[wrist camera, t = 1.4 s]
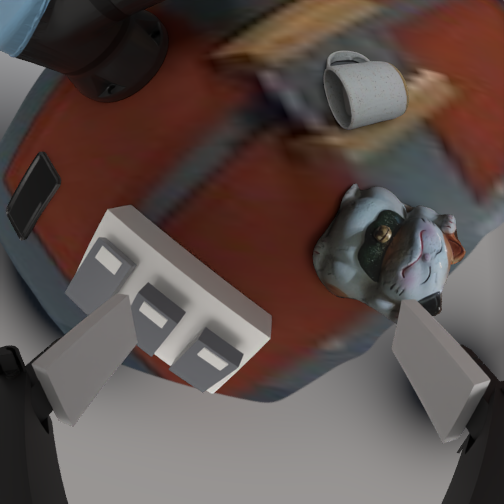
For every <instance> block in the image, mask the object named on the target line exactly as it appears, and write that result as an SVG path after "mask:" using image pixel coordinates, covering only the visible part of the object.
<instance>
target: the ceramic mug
mask: <svg viewBox="0 0 504 504" xmlns="http://www.w3.org/2000/svg"><path fill="white" fill-rule="evenodd" d="M342 60H353V61H356V62H359V63H354V64H344V65H336V66H331V63H333V62H335V61H342ZM323 80H324V88H325V93H326V97H327V100H328V103H329V106H330V108H331V111H332V113H333V115H334V117H335V119H336V120H337V122H338V123H339V124H340V126H341V127H342V128H344V129H347V130H350V129H354V128H358V127H362V126H366V125H370V124H374V123H377V122H381V121H386V120H390V119H394V118H396V117H399V116H401V115H402V114H404V113H405V111H406V109H407V107H408V103H409V94H408V88H407V85H406V82H405V80H404V78H403V76H402V74H401V73H400V72H399V70H398V69H397V68H396V67H395V66H393V65H392V64H390V63H387V62H379V61H372V62H371V61H369V59H368V58H366V57H365V56H363V55H362V54H359V53H356V52H353V51H338V52H334V53H332V54H331V55H330V56H329V57H328V59H327V66H326V69H325V71H324V78H323Z"/></svg>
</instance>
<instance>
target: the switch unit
mask: <svg viewBox="0 0 504 504" xmlns="http://www.w3.org/2000/svg"><path fill="white" fill-rule="evenodd" d="M99 237H105V238H107V239H108V240H109V241H110V242H111V243H112V244H114V245H115V246H116V247H117V248H118V249H119V250H120V251H121V252H123V253H124V254H125V255H126V256H127V257H128V258H130V259H131V260H132V261H133V262H134V263H135V264H137V266H136V267H135V269H134V270H133V271H132V273H131V274H130V276H129V277H128V279H127V280H126V282H125V283H124V284H123V286H122V287H121V289H120V290H119V292H118V293H117V294H125V295H129V299H130V305H132V303H133V301H134V299H135V297H136V295H137V293H138V292H139V291H140V290H141V289H142V288H143V287H144V286H145V285H146V284H147V283H148V282H149V283H150V284H151V285H153V286H154V287H155V288H156V289H157V290H159V291H160V292H161V293H162V294H164V295H165V296H166V297H167V298H169V299H170V300H171V301H172V302H174V303H175V304H176V305H178V306H179V307H180V308H181V309H183V310H184V311H185V312H186V313H185V315H184V316H183V317H182V319H181V320H180V322H179V323H178V324H177V326H176V327H175V328H174V329H173V331H172V332H171V333H170V334H169V336H168V337H167V338H166V339H165V341H164V342H163V343H162V344H161V346H160V347H159V348H158V349H157V351H156V352H155V353H154V354H155V355H156V356H158V357H159V358H160V359H162V360H163V361H164V362H166V363H167V364H169V365H170V366H171V365H172V363H173V362H174V360H175V358H176V357H177V356H178V355H179V354H180V353H181V352H182V351H183V350H184V349H185V348H186V347H187V346H188V345H189V344H190V343H191V342H192V341H193V340H194V338H195V337H196V336H197V335H198V334H199V333H200V332H201V331H202V330H203V329H204V328H205V327H206V328H208V329H209V330H211V331H212V332H213V333H215V334H216V335H217V336H219V337H220V338H222V339H223V340H224V341H226V342H227V343H229V344H230V345H232V346H233V347H234V348H236V349H237V350H239V351H240V352H242V353H243V354H244V355H243V357H242V360H241V362H240V365H239V367H238V368H237V369H236V370H234V371H233V372H232V373H230V374H229V375H227V376H226V377H225V378H223V379H222V380H220V381H219V382H217V383H216V384H215V385H213V386H212V387H210V388H209V389H207V391H208V392H210V393H211V394H213V393H214V392H215V391H216V390H218V389H219V388H220V387H221V386H222V385H223V384H224V383H225V382H226V381H227V380H228V379H229V378H231V377H232V376H233V375H234V374H235V373H236V372H237V371H238V370H239V369H240V368H241V367H242V366H243V365H244V364H245V363H246V362H247V361H248V360H249V359H250V358H251V357H253V356H254V355H255V354H256V353H257V352H258V351H259V350H260V349H261V348H262V347H263V346H264V345H265V344H266V343H267V342H268V341H269V340H270V339H271V323H272V316H271V315H270V314H269V313H267V312H266V311H265V310H263V309H262V308H261V307H259V306H258V305H257V304H255V303H254V302H253V301H251V300H250V299H249V298H247V297H246V296H245V295H243V294H242V293H241V292H239V291H238V290H237V289H235V288H234V287H233V286H232V285H230V284H229V283H228V282H226V281H225V280H224V279H222V278H221V277H220V276H219V275H217V274H216V273H215V272H213V271H212V270H211V269H210V268H208V267H207V266H206V265H205V264H203V263H202V262H201V261H199V260H198V259H197V258H196V257H194V256H193V255H192V254H191V253H189V252H188V251H187V250H186V249H184V248H183V247H182V246H181V245H179V244H178V243H177V242H176V241H174V240H173V239H172V238H171V237H169V236H168V235H167V234H166V233H165V232H163V231H162V230H161V229H160V228H158V227H157V226H156V225H155V224H154V223H152V222H151V221H150V220H149V219H148V218H146V217H145V216H144V215H143V214H142V213H140V212H139V211H138V210H137V209H136V208H134V207H133V206H132V205H127V206H122V207H117V208H112V209H108V210H107V211H106V213H105V215H104V217H103V219H102V221H101V223H100V224H99V226H98V228H97V230H96V232H95V234H94V236H93V238H92V240H91V242H90V244H89V246H88V248H87V250H86V253H85V255H84V257H83V259H82V261H81V263H80V266H81V264H82V263H83V261H84V259H85V258H86V256H87V255H88V253H89V251H90V250H91V248H92V247H93V245H94V244H95V242H96V241H97V239H98V238H99ZM80 266H79V268H80ZM79 268H78V269H79ZM77 271H78V270H77ZM76 273H77V272H76Z"/></svg>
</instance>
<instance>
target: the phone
mask: <svg viewBox="0 0 504 504" xmlns="http://www.w3.org/2000/svg"><path fill="white" fill-rule="evenodd" d="M51 165H52V163H51V161H50V159H49V158H48V156H47V154H46V153H45V152H39V153H38V154H37V155H36V157H35V158H34V160H33V162H32V163H31V165H30V166H29V168H28V170H27V171H26V173H25V175H24V176H23V178H22V180H21V182H20V183H19V185H18V187H17V189H16V191H15V192H14V194H13V196H12V198H11V200H10V202H9V204H8V206H7V209H6V213H7V216H8V218H9V220H10V222H11V224H12V226H13V228H14V230H15V231H16V233H17V235H18V237H19V239H20V240H25V239H27V237H28V235H29V234H30V232H31V230H32V229H33V227H34V225H35V224H36V222H37V220H38V219H39V217H40V215H41V214H42V212H43V211H44V209H45V208H46V206H47V205H48V203H49V202H50V200H51V199H52V197H53V196H54V194H55V193H56V191H57V190H58V188H59V187H60V185H61V178H60V176H59V175H58V173H57V171H56V170H55V168H54V166H53V165H52V166H51Z"/></svg>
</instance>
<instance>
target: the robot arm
mask: <svg viewBox="0 0 504 504" xmlns="http://www.w3.org/2000/svg"><path fill="white" fill-rule="evenodd" d="M162 1H165V0H0V51H2V52H5V53H7V54H9V55H10V56H11V57H16V58H18V59H22V60H25V61H28V62H31V63H34V64H37V65H40V66H43V67H46V68H49V69H52V70H55V71H57V72H60V73H63V74H65V75H67V77H68V78H69V79H70V80H71V82H72V83H73V84H74V85H75V87H76V88H77V89H78V90H79V91H80V92H81V93H82V94H83V95H85V96H86V97H88V98H91V99H93V100H96V101H100V102H114V101H118V100H121V99H124V98H126V97H128V96H130V95H132V94H134V93H135V92H137V91H138V90H140V89H141V88H142V87H143V86H144V85H146V84H147V83H148V82H149V81H150V80H151V79H152V77H153V76H154V75H155V74H156V72H157V71H158V70H159V68H160V66H161V65H162V63H163V61H164V58H165V56H166V53H167V49H168V34H167V30H166V28H165V27H164V25H163V24H162V23H161V21H160V20H159V19H158V18H157V17H156V16H155V15H154V14H152V13H150V12H148V11H146V10H144V9H146V8H148V7H151V6H153V5H155V4H157V3H160V2H162ZM137 343H138V341H137V337H136V332H135V327H134V322H133V316H132V311H131V305H130V299H129V295H125V294H115V295H114V296H113V297H111V298H110V299H109V300H108V301H106V302H105V303H104V304H103V305H101V306H100V307H99V308H98V309H96V310H95V311H94V312H93V313H91V314H90V315H89V316H88V317H86V318H85V319H84V320H83V321H81V322H80V323H79V324H78V325H77V326H75V327H74V328H73V329H72V330H71V331H69V332H68V333H67V334H66V335H65V336H63V337H61V338H59V339H57V340H55V341H54V342H53V343H52V344H51V345H50V346H49V347H47V348H46V349H45V350H44V352H41V353H40V354H39V355H38V356H37V357H35V358H34V359H33V360H32V361H31V362H30V363H29V364H27V365H26V366H25V364H24V362H23V360H22V357H21V355H20V352H19V349H18V348H17V347H15V346H4V347H1V348H0V504H68V501H67V498H66V495H65V490H64V486H63V482H62V478H61V473H60V469H59V464H58V459H57V453H56V447H55V441H54V434H53V426H52V421H51V418H50V416H49V414H50V413H51V412H52V411H54V413H55V415H56V416H57V418H58V420H59V421H61V422H63V423H65V424H68V425H70V426H74V425H75V424H76V422H77V421H78V419H79V418H80V417H81V415H82V414H83V413H84V411H85V410H86V409H87V407H88V406H89V405H90V403H91V402H92V401H93V399H94V398H95V397H96V396H97V394H98V393H99V391H100V390H101V389H102V387H103V386H104V385H105V384H106V382H107V381H108V380H109V379H110V377H111V376H112V375H113V373H114V372H115V371H116V369H117V368H118V367H119V366H120V364H121V363H122V362H123V361H124V359H125V358H126V357H127V356H128V354H129V353H130V352H131V350H132V349H133V348H134V347H135V345H136V344H137ZM391 349H392V351H393V353H394V354H395V356H396V358H397V360H398V361H399V363H400V365H401V367H402V368H403V370H404V372H405V374H406V375H407V377H408V379H409V381H410V382H411V384H412V386H413V388H414V390H415V391H416V393H417V395H418V397H419V399H420V401H421V402H422V404H423V406H424V408H425V410H426V412H427V414H428V416H429V418H430V419H431V421H432V423H433V425H434V427H435V429H436V431H437V433H438V435H439V437H440V439H441V441H442V443H446V442H449V441H452V440H455V439H458V438H459V437H460V436H461V434H462V432H463V431H464V429H465V427H466V428H467V429H468V431H469V435H468V436H467V438H466V439H465V441H464V443H463V444H462V445H461V447H460V448H459V450H458V452H457V453H460V451H461V450H462V449H463V450H462V453H461V456H460V459H459V462H458V465H457V467H456V470H455V473H454V475H453V478H452V481H451V483H450V486H449V488H448V490H447V493H446V495H445V497H444V499H443V502H442V504H504V381H501V382H500V381H499V380H498V379H497V378H496V377H495V375H494V374H493V373H492V372H491V371H490V370H489V369H488V368H487V367H486V365H485V364H483V362H482V361H481V360H480V359H479V358H478V357H477V355H476V354H475V353H474V352H473V351H472V350H471V349H469V348H467V347H465V346H464V345H459V344H458V343H457V341H456V340H455V339H454V338H453V337H452V336H451V335H450V334H449V333H448V332H447V331H446V330H445V329H444V328H443V327H442V326H441V325H440V324H439V323H438V322H437V321H436V320H435V319H434V318H433V317H432V316H431V315H430V313H429V312H428V311H427V310H426V309H424V308H423V307H422V306H421V305H420V304H419V303H418V302H417V301H416V300H415V299H411V300H402V301H401V307H400V312H399V317H398V322H397V326H396V331H395V335H394V340H393V344H392V348H391Z"/></svg>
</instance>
